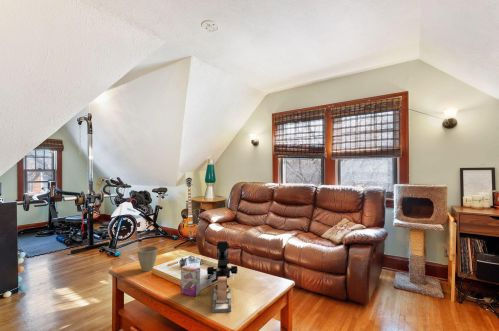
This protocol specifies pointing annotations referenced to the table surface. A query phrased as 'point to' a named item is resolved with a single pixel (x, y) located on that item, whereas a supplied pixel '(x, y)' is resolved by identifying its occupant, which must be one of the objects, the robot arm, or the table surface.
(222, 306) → the track
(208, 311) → the table surface
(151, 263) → the plant pot
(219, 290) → the salmon pink rectangular block
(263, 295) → the table surface
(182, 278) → the candy bar box
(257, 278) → the table surface
